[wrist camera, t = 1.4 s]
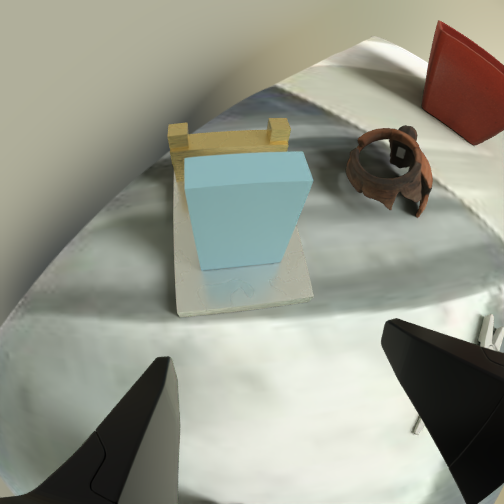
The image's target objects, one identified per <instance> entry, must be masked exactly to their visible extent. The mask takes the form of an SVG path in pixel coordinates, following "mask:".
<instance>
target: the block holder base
mask: <svg viewBox="0 0 504 504" xmlns="http://www.w3.org/2000/svg"><path fill="white" fill-rule="evenodd" d="M290 131H291V128H290V126H289V123H288V121H287V118H269V120H268V126H267V130H245V131H226V132H211V133H199V134H189V133H188V124H187V123H179V124H171V125H169V127H168V141H169V147H170V155H171V160H172V165H173V167H174V199H173V224H174V266H175V288H176V304H177V313H178V315H179V316H180V317H191V316H202V315H212V314H221V313H230V312H239V311H248V310H256V309H264V308H271V307H279V306H286V305H293V304H300V303H306V302H309V301H310V300H311V299H312V298H313V297H314V295H313V291H312V286H311V282H310V277H309V273H308V269H307V265H306V260H305V256H304V252H303V248H302V244H301V240H300V236H299V232H298V228H297V224H296V226H295V229H294V231H293V234H292V236H291V238H290V241H289V243H288V246H287V248H286V251H285V253H284V256H283V258H282V260H281V262H278V263H269V264H259V265H250V266H240V267H230V268H221V269H211V270H201V268H200V263H199V259H198V254H197V249H196V245H195V240H194V235H193V230H192V225H191V220H190V215H189V210H188V205H187V199H186V194H185V177H184V159H185V158H189V157H200V156H211V155H224V154H240V153H261V152H287V149H288V140H289V136H290Z"/></svg>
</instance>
